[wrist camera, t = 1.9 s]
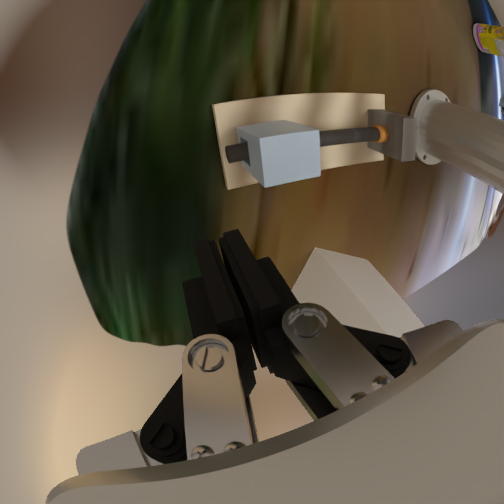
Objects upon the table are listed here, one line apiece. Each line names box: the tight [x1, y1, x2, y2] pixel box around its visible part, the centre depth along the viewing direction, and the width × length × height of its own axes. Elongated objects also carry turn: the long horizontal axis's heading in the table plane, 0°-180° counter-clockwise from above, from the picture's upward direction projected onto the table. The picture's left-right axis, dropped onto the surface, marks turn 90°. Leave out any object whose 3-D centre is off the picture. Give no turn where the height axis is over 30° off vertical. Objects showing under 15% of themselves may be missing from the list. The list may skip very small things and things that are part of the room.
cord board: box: [212, 92, 418, 190], centre depth 25 cm, size 21×9×7 cm, turn 97°
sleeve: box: [236, 120, 321, 188], centre depth 23 cm, size 5×4×6 cm
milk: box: [291, 247, 425, 338], centre depth 32 cm, size 12×12×26 cm
